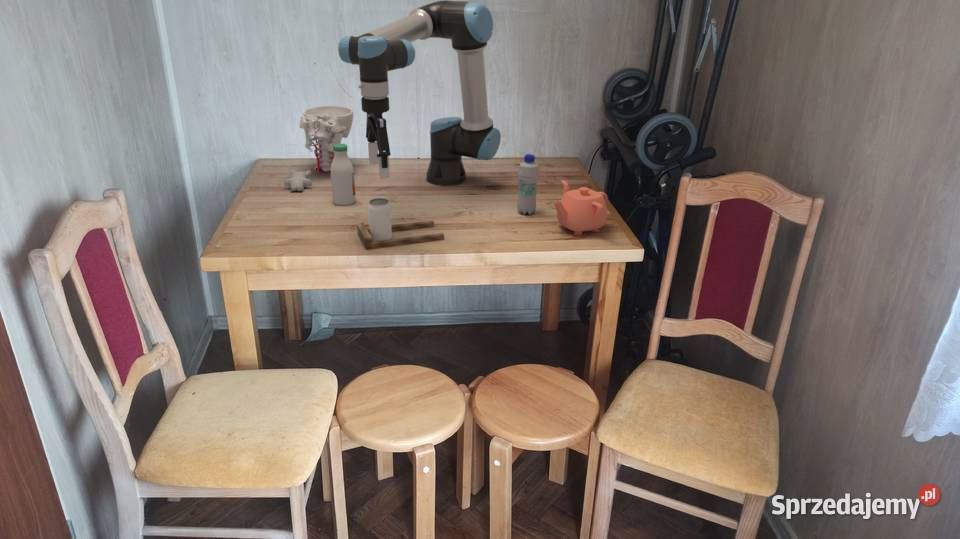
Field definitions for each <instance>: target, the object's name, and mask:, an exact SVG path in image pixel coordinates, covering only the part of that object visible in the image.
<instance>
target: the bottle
mask: <svg viewBox="0 0 960 539" xmlns="http://www.w3.org/2000/svg"><path fill="white" fill-rule="evenodd" d="M535 158H536V157H535V155H534V154H531V153H529V154H528V153H527V154H525V155H524V158H523V161H522V162H520V163H519V167H518V171H517V173H518V176H517V179H518V191H517V192H518V194H517V195H518V196H517V202H516V203H517V204H516V206H517V207H516V209H517V212H518V213H519V214H523V215H526V214H528V216H529V215H531V214H534V213H535V212H536V210H537V209H536V207H537V189H538V188H537V186H538V184H537V182H538V179H539V175H540V174H539V164H538V163H537V162H535Z"/></svg>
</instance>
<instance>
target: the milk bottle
mask: <svg viewBox="0 0 960 539" xmlns="http://www.w3.org/2000/svg"><path fill="white" fill-rule="evenodd" d="M333 150H334V151H333V152H334V159H333V162H332V164H331V172H330V181H331V182H330V183H331V193H332V194H331V195H332V202H333V203H334V204H335V205H337V206H350V205H352V204H355V202H356V187H355V186H356V184H355V174H354V168H353V167H354V166H353V164H352V162H351V161H350V158H349V156H348V144H346V143H340V144H335V145H333Z"/></svg>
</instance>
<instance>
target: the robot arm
mask: <svg viewBox="0 0 960 539" xmlns="http://www.w3.org/2000/svg"><path fill="white" fill-rule="evenodd" d="M493 30H494V20H493V16H492V13H491V11H490V9H489V8H488V7H487V6H486V5H485V4H484V3H480V2H475V1H459V0H458V1H457V0H456V1H455V0H437V1H434V2H430V3H428V4H425V5H422V6H420V7H417V8H415V9H413V10H411V11H410V13H409V14H408V15H406V16H404V17H402V18H400V19H397V20H395V21H393V22H390V23H388V24H385V25H383V26H381V27H377V28H376V29H373V30H370V31H368V32H366V33H363V34H361V35H358V36H353V35H348V36H346V35H345V36H343V37H342V38H341V39H340V40H339V43H338V46H337V51H338V56H339V58H340V60H341V61H342V62H343V63H347V64H351V65H356V66H358V67H359V82H360V84H358V85H357V86H358V89H360V95H361V96H362V97H361V111H362V112H364V113H365V114H366V125H365V126H366V129H365V138H366V140H367V149H368V164H369V166H373V165H374V166H375V165H378V172H379V173H378V176H379V179H380V180H385V179H390V158H389V157H390V156H391V149H390V148H391V147H390V142H389V136H388V129H387V127H388V126H387V119H386V118H383V113H387V112H389V110H390V98H389V95H390V93H389V92H390V90H389V89H390V88H389V78H388V77H389V75H388V72H391V71H395V70H400V69H401V70H402V69H405V68H407V67H410V66H411V65H413V63H414V62H415V58H416V51H415V47H414V45H413V42H416V41H417V40H420V41H421V40H422V41H424V40H428V39H431V38H434V39H435V38H436V39H437V38H438V39H445V40H451V48H452V49H453V50H454V51H455V52H456V53H457V62H458V72H459V79H460V80H459V81H460V82H459V83H460V91H461V92H460V93H461V99H462V100H461V102H462V110H463V119H462V117H460V116H459V117H458V116H449V117H441V118H437V119H434V120H432V121H431V122H430V128H429V129H430V130H429V134H430V135H429V137H430V140H429V141H430V161H429V164H428V167H427V171H426V175H425V176H426V181H427V182H428V183H430V184H433V185H438V186H456V185H459V184H460V185H461V184H463V183H465V182H466V181H467V172H466V169H465V167H464V166H465V165H464V163H463V160H462V159H463V157H465V158H472V159H477V160H479V161H481V160H483V161H490V160H491V159H493V158H494V157H495V156H496V154H497V153H498V150H499V148H500V144H501V139H502V137H501V136H502V135H501V131H500V130H499V129H498V128H496V127H494V120H493V119H492V118H491V117H489V110H488V108H489V107H488V96H487V81H486V71H485V70H486V68H485V57H484V49H485V48H486V47H487V46H488V42H489V41H490V40H491V38H492V36H493Z"/></svg>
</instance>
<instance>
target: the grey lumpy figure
mask: <svg viewBox="0 0 960 539" xmlns="http://www.w3.org/2000/svg"><path fill="white" fill-rule="evenodd" d="M290 175H291V177H289V178H286V179H284V181H283V182H284V187H287V188H290V191H291V192H304V191H305V190H304V188H309V187H312V186H313V184H312V179H309V178H308V176H311V175H313V172H312V171H311V169H307V170H305V171H298V170H295V169H292V170H291V171H290Z"/></svg>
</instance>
